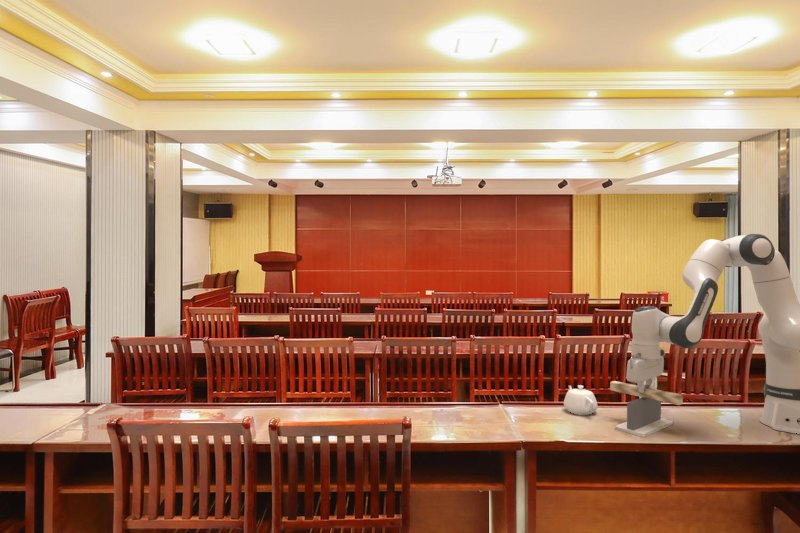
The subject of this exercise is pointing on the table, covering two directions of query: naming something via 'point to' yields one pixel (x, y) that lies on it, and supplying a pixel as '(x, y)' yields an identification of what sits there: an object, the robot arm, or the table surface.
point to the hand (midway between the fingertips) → (644, 391)
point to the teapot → (580, 401)
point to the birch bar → (647, 393)
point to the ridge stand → (643, 417)
